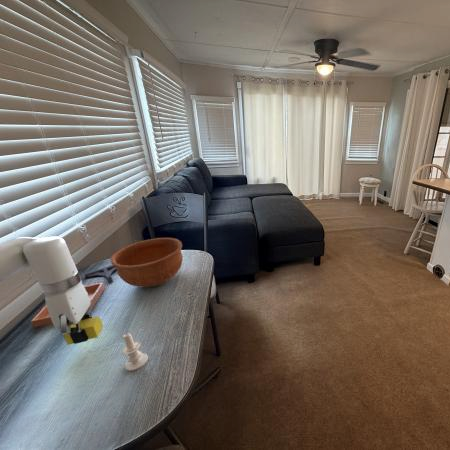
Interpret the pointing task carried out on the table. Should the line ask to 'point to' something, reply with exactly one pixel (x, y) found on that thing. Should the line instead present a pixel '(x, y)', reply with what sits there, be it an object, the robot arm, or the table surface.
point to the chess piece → (133, 354)
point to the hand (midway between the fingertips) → (85, 334)
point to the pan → (94, 294)
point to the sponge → (88, 328)
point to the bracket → (105, 272)
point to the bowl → (148, 261)
